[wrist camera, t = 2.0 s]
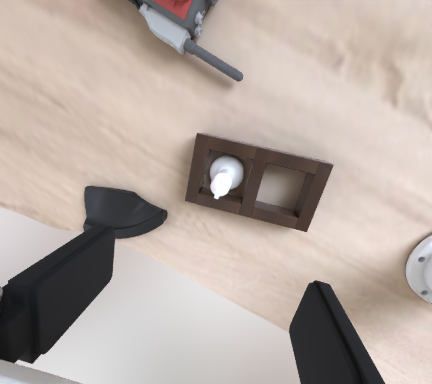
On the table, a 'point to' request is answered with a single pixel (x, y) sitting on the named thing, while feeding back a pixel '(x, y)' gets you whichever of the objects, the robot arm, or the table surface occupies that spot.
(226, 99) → the table surface
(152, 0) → the walkie-talkie
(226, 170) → the chess piece
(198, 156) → the rack
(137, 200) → the curved wedge
